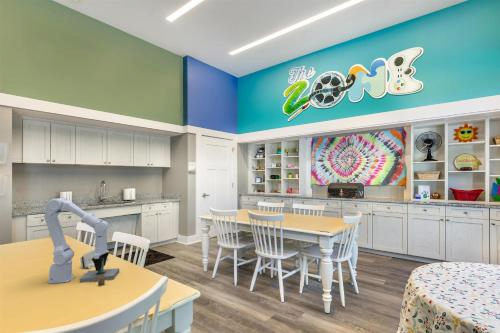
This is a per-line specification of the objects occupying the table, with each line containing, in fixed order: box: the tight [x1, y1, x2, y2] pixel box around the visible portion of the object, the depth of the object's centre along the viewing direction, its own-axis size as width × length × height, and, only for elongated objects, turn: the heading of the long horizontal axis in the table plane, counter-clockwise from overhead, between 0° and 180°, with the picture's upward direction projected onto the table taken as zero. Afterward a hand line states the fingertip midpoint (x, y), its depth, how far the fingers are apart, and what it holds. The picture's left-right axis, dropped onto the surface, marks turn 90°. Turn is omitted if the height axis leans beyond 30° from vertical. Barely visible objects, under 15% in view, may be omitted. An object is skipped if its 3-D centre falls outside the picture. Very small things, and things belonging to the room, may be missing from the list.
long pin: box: [98, 259, 105, 275], centre depth 142 cm, size 3×3×10 cm
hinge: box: [80, 249, 109, 270], centre depth 162 cm, size 17×5×10 cm, turn 169°
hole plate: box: [79, 267, 120, 284], centre depth 142 cm, size 16×12×2 cm
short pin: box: [97, 275, 106, 287], centre depth 131 cm, size 3×3×4 cm
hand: (100, 268), depth 142 cm, fingers open, 7 cm apart
